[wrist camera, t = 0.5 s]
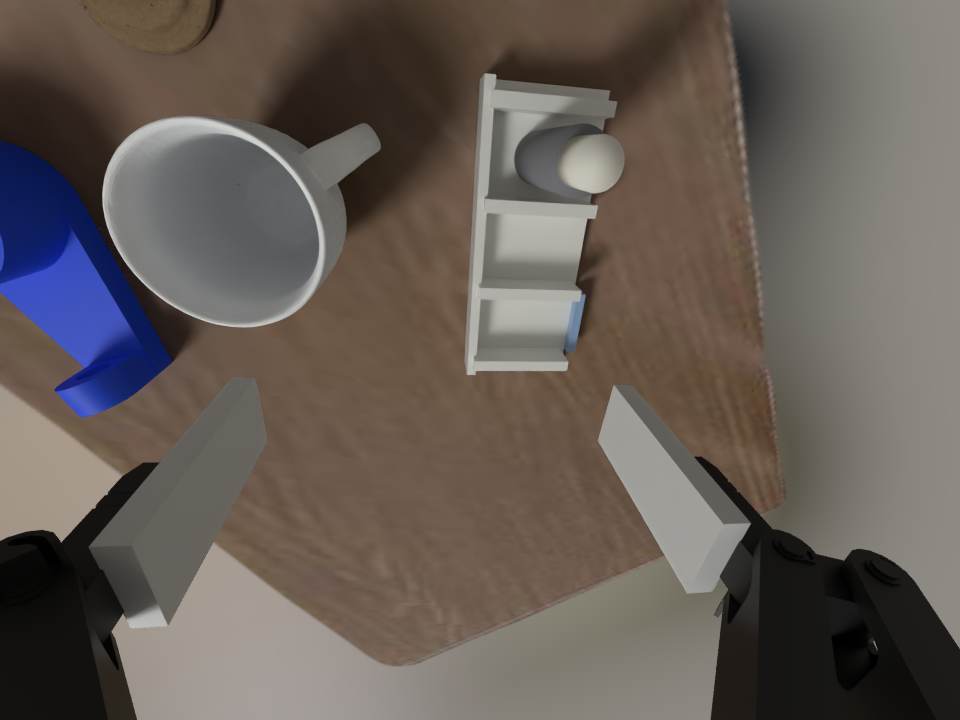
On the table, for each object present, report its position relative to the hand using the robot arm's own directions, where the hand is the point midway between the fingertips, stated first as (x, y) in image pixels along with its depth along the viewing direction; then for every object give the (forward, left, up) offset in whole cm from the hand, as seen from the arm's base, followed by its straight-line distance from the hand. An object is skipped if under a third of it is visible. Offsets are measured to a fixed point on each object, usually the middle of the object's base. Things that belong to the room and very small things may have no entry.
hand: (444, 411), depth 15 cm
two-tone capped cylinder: (-9, +8, -23) cm, 26 cm away
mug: (-5, -11, -24) cm, 27 cm away
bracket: (+3, -30, -24) cm, 39 cm away
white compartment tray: (-2, +8, -24) cm, 25 cm away
